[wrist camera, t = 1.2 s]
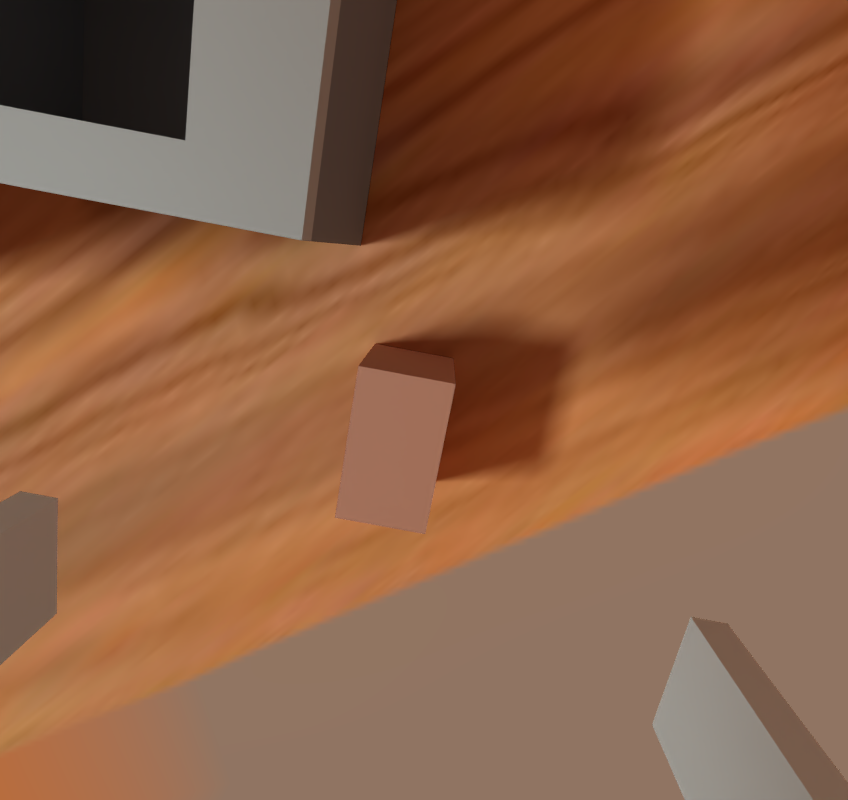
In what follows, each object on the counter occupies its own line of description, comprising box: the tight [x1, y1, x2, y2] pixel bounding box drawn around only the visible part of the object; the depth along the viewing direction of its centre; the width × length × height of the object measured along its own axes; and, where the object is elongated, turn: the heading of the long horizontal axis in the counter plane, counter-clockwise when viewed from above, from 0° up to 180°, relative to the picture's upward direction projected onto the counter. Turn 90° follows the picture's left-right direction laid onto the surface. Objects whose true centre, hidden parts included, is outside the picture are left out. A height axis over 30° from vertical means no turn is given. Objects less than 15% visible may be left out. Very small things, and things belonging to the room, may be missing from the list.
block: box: [335, 344, 456, 534], centre depth 23 cm, size 6×4×5 cm, turn 170°
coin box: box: [0, 0, 397, 245], centre depth 17 cm, size 12×12×10 cm
